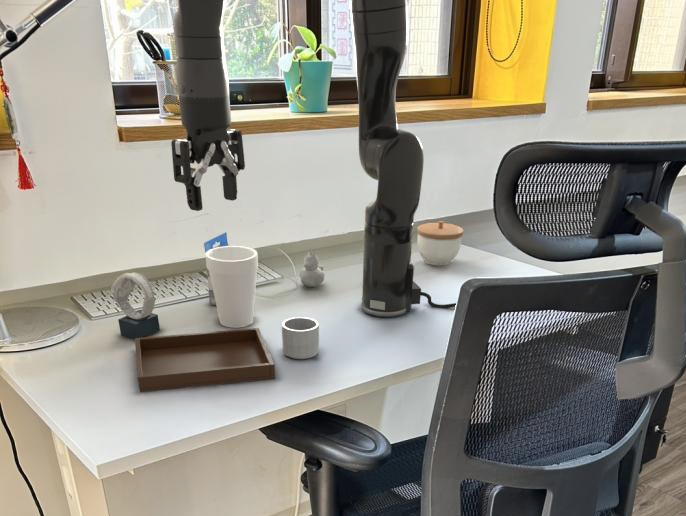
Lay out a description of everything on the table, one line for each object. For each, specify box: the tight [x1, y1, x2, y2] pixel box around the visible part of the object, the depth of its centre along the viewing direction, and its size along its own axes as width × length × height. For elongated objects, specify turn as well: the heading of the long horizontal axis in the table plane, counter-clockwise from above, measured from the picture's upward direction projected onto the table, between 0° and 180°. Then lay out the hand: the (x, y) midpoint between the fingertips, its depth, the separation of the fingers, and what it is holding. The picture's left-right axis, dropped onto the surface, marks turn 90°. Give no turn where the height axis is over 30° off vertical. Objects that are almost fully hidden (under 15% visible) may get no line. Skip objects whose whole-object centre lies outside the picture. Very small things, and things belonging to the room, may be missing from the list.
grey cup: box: [281, 316, 320, 360], centre depth 123 cm, size 6×6×6 cm
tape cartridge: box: [203, 231, 231, 306], centre depth 142 cm, size 9×4×12 cm, turn 160°
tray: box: [134, 327, 276, 393], centre depth 119 cm, size 22×16×3 cm
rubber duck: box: [299, 249, 325, 288], centre depth 152 cm, size 5×7×8 cm
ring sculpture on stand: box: [110, 271, 161, 341], centre depth 127 cm, size 6×8×11 cm
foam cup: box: [204, 245, 259, 329], centre depth 132 cm, size 10×9×13 cm
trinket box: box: [416, 220, 464, 266], centre depth 167 cm, size 11×11×9 cm
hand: (213, 204), depth 115 cm, fingers open, 8 cm apart
